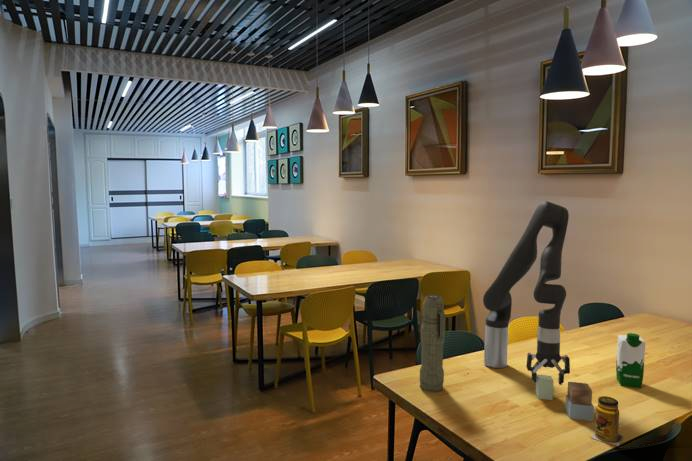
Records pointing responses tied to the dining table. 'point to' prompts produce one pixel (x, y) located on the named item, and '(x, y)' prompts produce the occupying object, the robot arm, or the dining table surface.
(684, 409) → the dining table surface
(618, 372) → the milk carton
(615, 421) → the condiment
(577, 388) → the tower top
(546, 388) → the green block
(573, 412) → the tower base
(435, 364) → the thermos
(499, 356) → the robot arm
